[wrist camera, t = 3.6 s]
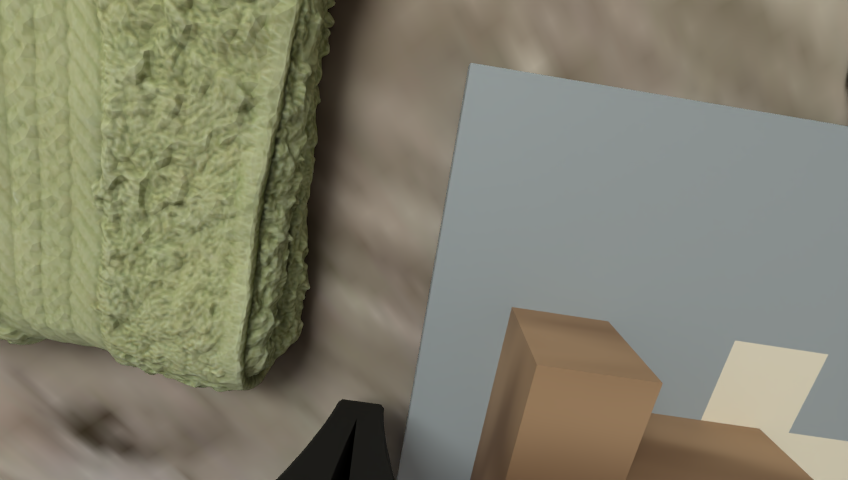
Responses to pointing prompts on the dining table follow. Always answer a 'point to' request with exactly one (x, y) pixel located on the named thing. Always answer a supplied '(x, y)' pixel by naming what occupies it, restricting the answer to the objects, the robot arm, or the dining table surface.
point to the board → (642, 259)
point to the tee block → (601, 415)
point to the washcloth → (159, 179)
